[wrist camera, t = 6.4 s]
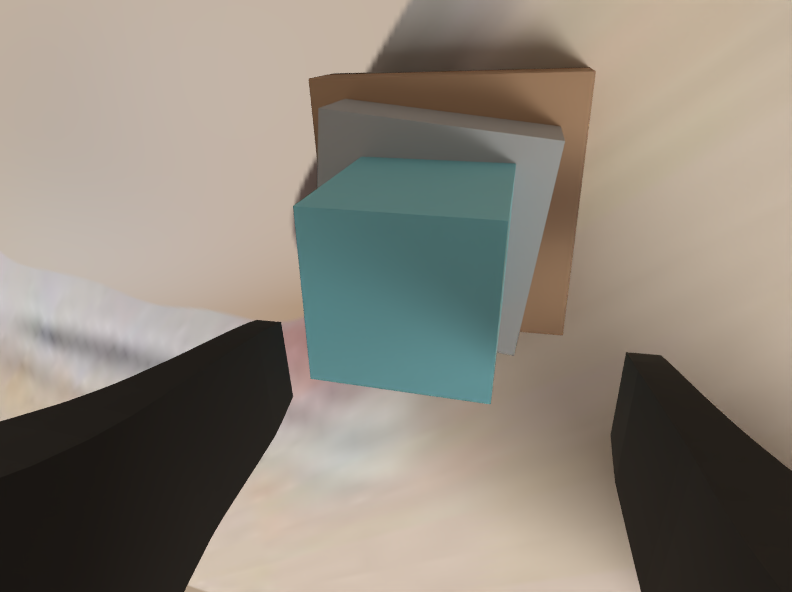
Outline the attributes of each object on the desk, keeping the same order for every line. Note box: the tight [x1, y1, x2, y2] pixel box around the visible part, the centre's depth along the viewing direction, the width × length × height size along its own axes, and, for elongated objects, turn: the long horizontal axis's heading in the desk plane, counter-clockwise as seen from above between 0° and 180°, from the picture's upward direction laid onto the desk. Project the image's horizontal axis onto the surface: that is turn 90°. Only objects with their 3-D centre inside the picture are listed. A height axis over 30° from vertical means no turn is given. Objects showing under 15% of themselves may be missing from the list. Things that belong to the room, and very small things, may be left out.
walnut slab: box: [309, 67, 596, 335], centre depth 19 cm, size 9×9×2 cm
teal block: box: [293, 157, 516, 404], centre depth 14 cm, size 4×4×5 cm
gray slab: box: [317, 99, 565, 356], centre depth 17 cm, size 7×7×2 cm
